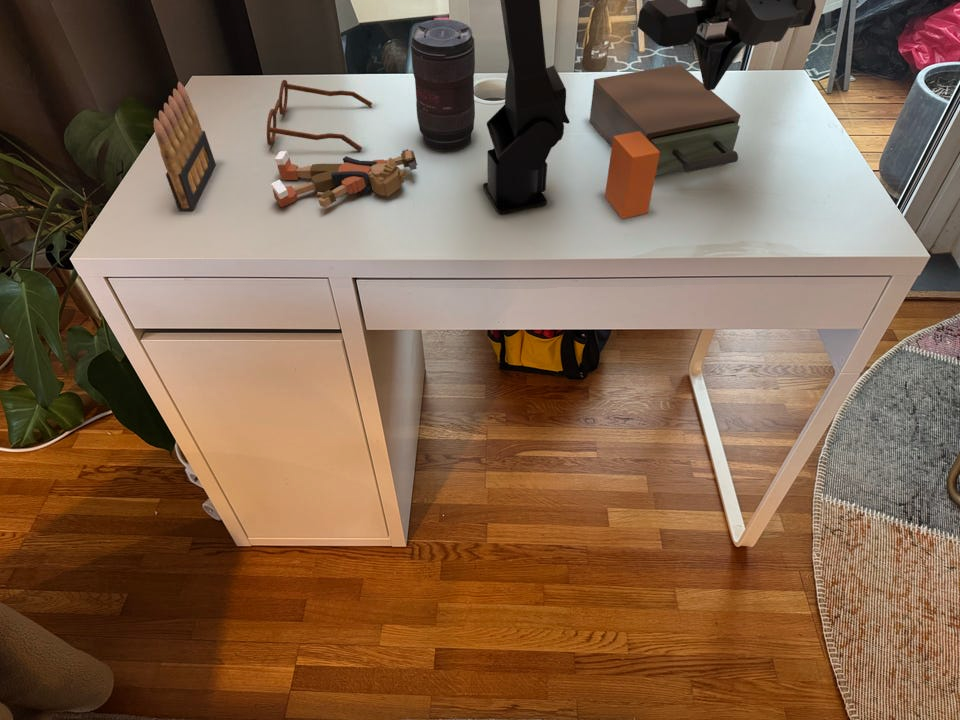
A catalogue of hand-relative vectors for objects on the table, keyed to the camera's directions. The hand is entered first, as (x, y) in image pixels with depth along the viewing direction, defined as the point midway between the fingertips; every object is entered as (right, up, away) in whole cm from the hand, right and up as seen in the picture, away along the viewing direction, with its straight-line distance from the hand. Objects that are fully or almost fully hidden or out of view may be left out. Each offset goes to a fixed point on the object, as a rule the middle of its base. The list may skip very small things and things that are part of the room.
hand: (708, 88), depth 83 cm
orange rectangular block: (-9, -12, +5) cm, 16 cm away
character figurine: (-44, -10, +9) cm, 46 cm away
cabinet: (-2, -1, +16) cm, 16 cm away
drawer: (-1, -3, +13) cm, 13 cm away
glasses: (-50, +1, +19) cm, 53 cm away
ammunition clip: (-64, -9, +9) cm, 65 cm away
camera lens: (-32, -1, +16) cm, 36 cm away
